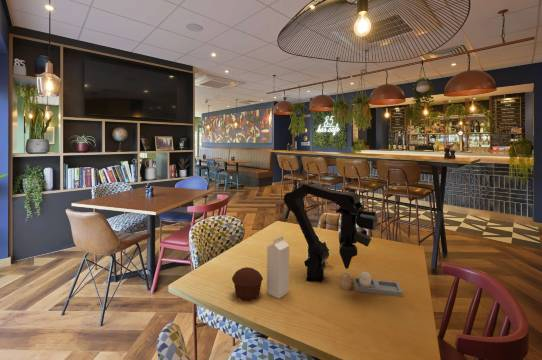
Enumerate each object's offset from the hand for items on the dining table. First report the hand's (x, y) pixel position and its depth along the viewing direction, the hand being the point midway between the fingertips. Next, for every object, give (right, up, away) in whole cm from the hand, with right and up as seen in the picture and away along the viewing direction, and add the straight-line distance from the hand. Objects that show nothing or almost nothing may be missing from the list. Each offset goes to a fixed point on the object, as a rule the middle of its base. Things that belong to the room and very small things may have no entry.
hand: (346, 263), depth 114 cm
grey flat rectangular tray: (+12, -10, +1) cm, 16 cm away
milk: (-27, -11, -2) cm, 29 cm away
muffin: (-39, -11, -4) cm, 40 cm away
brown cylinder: (0, -10, +1) cm, 10 cm away
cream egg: (+8, -10, +2) cm, 13 cm away
